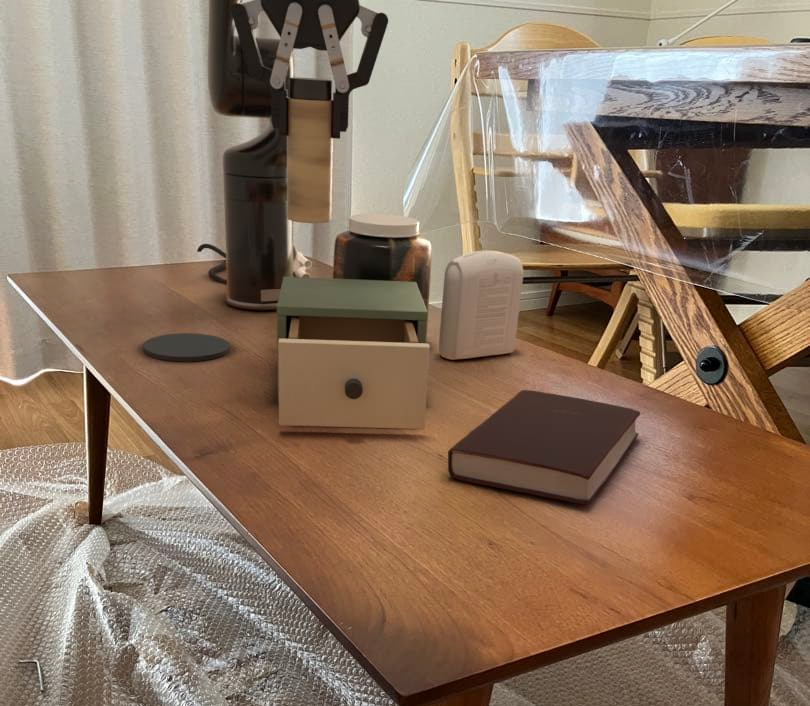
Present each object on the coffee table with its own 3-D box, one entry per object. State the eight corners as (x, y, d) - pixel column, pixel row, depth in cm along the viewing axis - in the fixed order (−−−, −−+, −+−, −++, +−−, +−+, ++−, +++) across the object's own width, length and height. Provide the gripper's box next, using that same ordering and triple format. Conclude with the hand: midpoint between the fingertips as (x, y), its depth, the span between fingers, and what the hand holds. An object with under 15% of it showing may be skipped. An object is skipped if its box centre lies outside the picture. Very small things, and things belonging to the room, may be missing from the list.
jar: (332, 356, 109) (335, 224, 102) (330, 330, 119) (332, 209, 112) (430, 359, 110) (440, 229, 103) (420, 333, 120) (428, 213, 113)
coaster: (151, 336, 112) (150, 331, 112) (233, 339, 113) (233, 334, 113) (135, 360, 103) (135, 355, 103) (225, 363, 104) (225, 358, 104)
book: (444, 478, 78) (447, 443, 77) (517, 413, 94) (521, 383, 93) (586, 512, 74) (592, 475, 72) (638, 438, 90) (644, 407, 88)
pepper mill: (287, 214, 89) (287, 76, 83) (331, 216, 89) (333, 79, 83) (286, 222, 85) (286, 78, 79) (331, 224, 85) (334, 81, 80)
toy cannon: (278, 276, 155) (300, 253, 154) (297, 295, 143) (321, 270, 143) (244, 241, 150) (267, 218, 150) (261, 258, 139) (286, 233, 138)
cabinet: (421, 406, 95) (427, 311, 90) (277, 402, 93) (276, 306, 89) (411, 366, 107) (416, 281, 102) (284, 362, 105) (283, 276, 101)
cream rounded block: (498, 345, 117) (508, 245, 111) (519, 354, 114) (531, 252, 108) (432, 354, 112) (439, 250, 106) (453, 363, 109) (461, 256, 103)
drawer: (425, 434, 85) (431, 350, 81) (278, 430, 84) (277, 345, 80) (413, 387, 97) (418, 312, 93) (285, 383, 96) (284, 307, 92)
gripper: (394, -77, 79) (384, 137, 88) (228, -91, 78) (234, 128, 86) (400, -88, 73) (389, 145, 81) (219, -102, 71) (226, 136, 80)
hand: (309, 135), depth 84 cm, fingers closed on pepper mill, 4 cm apart
